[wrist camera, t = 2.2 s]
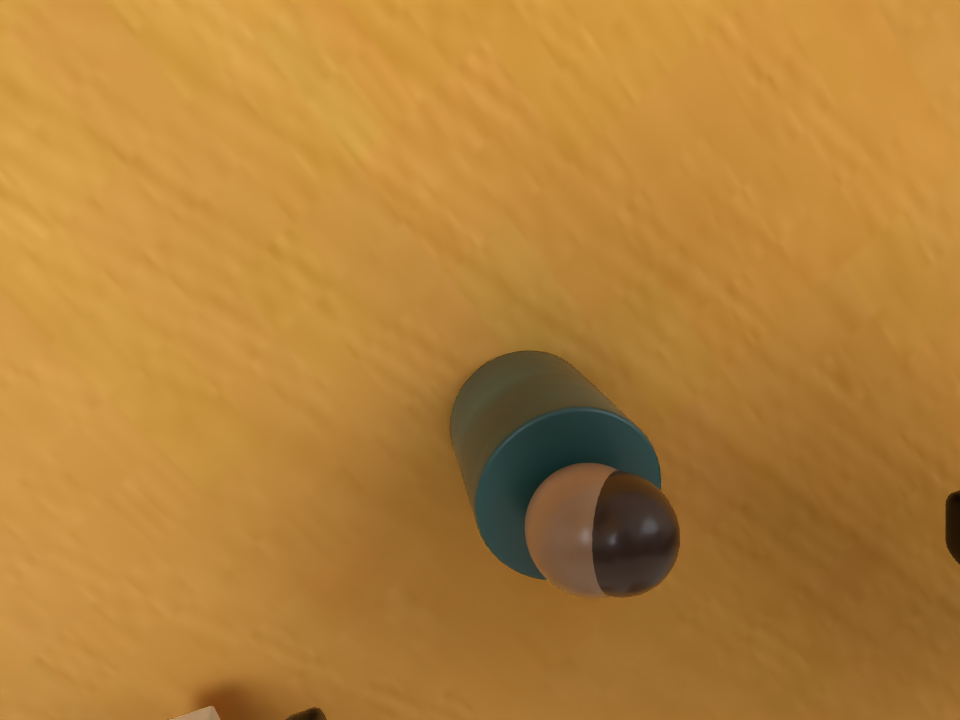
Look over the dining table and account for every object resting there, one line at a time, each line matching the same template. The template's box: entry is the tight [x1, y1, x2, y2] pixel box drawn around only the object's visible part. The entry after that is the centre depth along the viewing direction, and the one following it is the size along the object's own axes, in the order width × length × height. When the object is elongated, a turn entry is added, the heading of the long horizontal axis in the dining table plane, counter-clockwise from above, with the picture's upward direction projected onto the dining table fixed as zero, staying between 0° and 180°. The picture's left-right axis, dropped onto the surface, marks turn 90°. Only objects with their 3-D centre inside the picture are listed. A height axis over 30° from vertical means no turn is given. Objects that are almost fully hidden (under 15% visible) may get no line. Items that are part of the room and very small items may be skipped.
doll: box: [450, 351, 680, 599], centre depth 12 cm, size 4×4×6 cm
